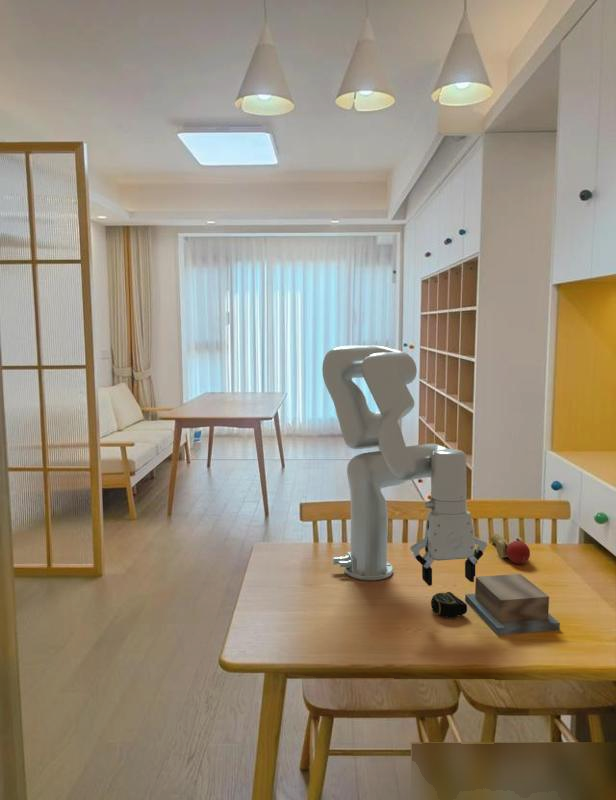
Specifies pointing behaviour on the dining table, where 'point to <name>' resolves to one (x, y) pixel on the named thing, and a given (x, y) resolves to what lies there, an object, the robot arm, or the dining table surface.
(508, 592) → the plinth
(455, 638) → the dining table surface
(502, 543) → the kendama
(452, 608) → the tape measure
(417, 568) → the dining table surface
